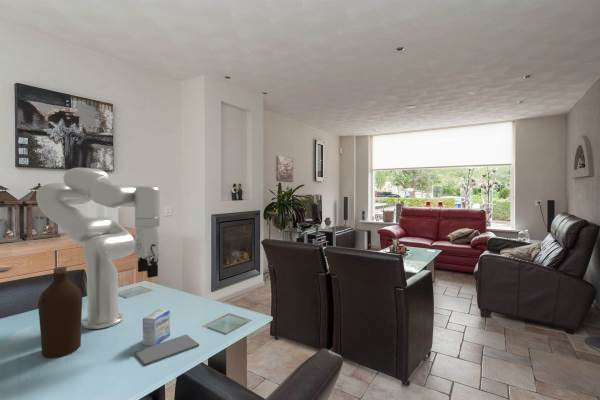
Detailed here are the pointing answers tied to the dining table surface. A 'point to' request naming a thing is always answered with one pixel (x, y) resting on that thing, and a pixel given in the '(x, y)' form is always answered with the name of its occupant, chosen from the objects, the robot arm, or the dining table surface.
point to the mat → (165, 349)
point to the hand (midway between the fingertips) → (147, 273)
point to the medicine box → (156, 327)
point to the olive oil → (60, 316)
